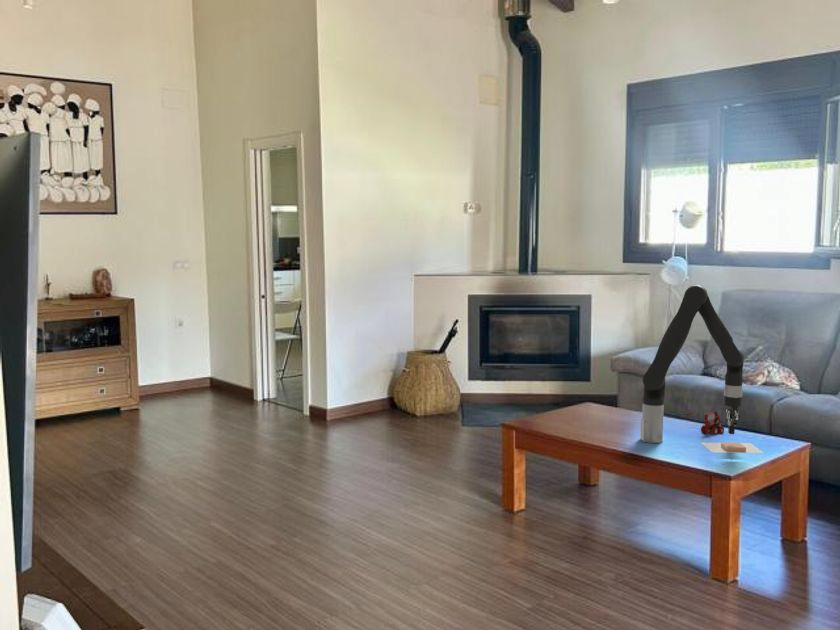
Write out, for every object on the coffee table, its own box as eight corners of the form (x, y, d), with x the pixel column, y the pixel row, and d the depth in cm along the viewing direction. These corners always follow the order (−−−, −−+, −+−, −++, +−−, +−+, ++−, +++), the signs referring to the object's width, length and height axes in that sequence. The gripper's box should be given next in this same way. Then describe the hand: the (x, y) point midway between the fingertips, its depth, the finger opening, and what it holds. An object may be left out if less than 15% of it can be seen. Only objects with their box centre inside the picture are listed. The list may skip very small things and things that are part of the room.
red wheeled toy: (726, 433, 374) (727, 411, 373) (711, 437, 366) (712, 415, 365) (713, 430, 379) (713, 409, 378) (698, 434, 371) (699, 412, 370)
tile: (720, 446, 347) (727, 451, 339) (720, 442, 347) (727, 447, 339) (739, 446, 347) (745, 451, 339) (739, 442, 346) (746, 447, 338)
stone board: (712, 454, 337) (712, 452, 337) (700, 444, 353) (700, 442, 353) (764, 455, 336) (764, 453, 336) (749, 445, 352) (750, 443, 352)
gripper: (719, 391, 350) (717, 429, 352) (729, 398, 337) (728, 437, 339) (736, 391, 350) (734, 430, 352) (747, 398, 337) (745, 437, 338)
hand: (731, 433), depth 345 cm, fingers closed
